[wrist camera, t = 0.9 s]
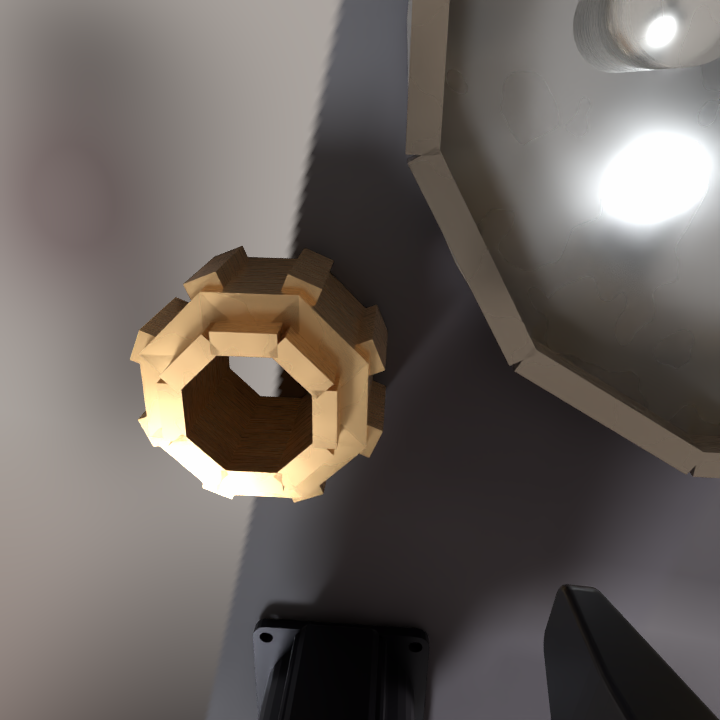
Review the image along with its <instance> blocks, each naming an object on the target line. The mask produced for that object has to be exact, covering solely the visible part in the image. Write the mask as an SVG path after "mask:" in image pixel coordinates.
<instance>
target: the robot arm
mask: <svg viewBox="0 0 720 720" xmlns="http://www.w3.org/2000/svg"><path fill="white" fill-rule="evenodd" d="M264 632H267V633H270V634H266V633H264ZM412 642H418V643H417V644H414V643H412ZM253 646H254V661H255V676H256V692H257V707H258V720H423V718H424V705H425V693H426V681H427V669H428V656H429V638H428V635H427V633H426V632H425V631H423V630H421V629H416V628H402V627H386V626H371V625H355V624H339V623H324V622H308V621H292V620H276V619H263V620H260V621H259V622H258V623H257V624H256V626H255V630H254V634H253ZM544 658H545V667H546V676H547V685H548V694H549V703H550V713H551V720H719V719H718V718H717V717H716V716H715V715H714V714H713V712H712V711H711V710H710V709H709V708H708V707H707V706H706V705H705V704H704V703H703V702H702V701H701V700H700V698H699V697H698V696H697V695H696V694H695V693H694V692H693V691H692V690H691V689H690V688H689V687H688V686H687V684H686V683H685V682H684V681H683V680H682V679H681V678H680V677H679V676H678V675H677V674H676V673H675V672H674V671H673V669H672V668H671V667H670V666H669V665H668V664H667V663H666V662H665V661H664V660H663V659H662V658H661V657H660V655H659V654H658V653H657V652H656V651H655V650H654V649H653V648H652V647H651V646H650V645H649V644H648V643H647V641H646V640H645V639H644V638H643V637H642V636H641V635H640V634H639V633H638V632H637V631H636V630H635V629H634V627H633V626H632V625H631V624H630V623H629V622H628V621H627V620H626V619H625V618H624V617H623V616H622V615H621V613H620V612H619V611H618V610H617V609H616V608H615V607H614V606H613V605H612V604H611V603H610V602H609V601H608V599H607V598H606V597H605V596H604V595H603V594H602V593H601V592H600V591H598V590H597V589H595V588H593V587H587V586H578V585H569V584H566V585H562V586H561V587H560V588H559V590H558V592H557V594H556V597H555V601H554V604H553V607H552V610H551V613H550V617H549V620H548V623H547V626H546V630H545V634H544Z"/></svg>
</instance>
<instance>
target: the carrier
mask: <svg viewBox="0 0 720 720" xmlns="http://www.w3.org/2000/svg"><path fill="white" fill-rule="evenodd" d="M407 56H408V107H407V130H406V155H414V156H412V157H410V158H408V159H407V163H408V165H409V167H410V169H411V171H412V173H413V175H414V177H415V179H416V181H417V183H418V185H419V187H420V189H421V191H422V193H423V195H424V197H425V199H426V201H427V203H428V205H429V207H430V209H431V211H432V213H433V215H434V217H435V219H436V221H437V223H438V225H439V227H440V229H441V231H442V233H443V235H444V238H445V240H446V242H447V245H448V247H449V249H450V252H451V254H452V257H453V259H454V261H455V263H456V265H457V267H458V268H459V270H460V272H461V273H462V275H463V277H464V278H465V280H466V282H467V284H468V285H469V287H470V289H471V290H472V292H473V294H474V296H475V298H476V300H477V302H478V304H479V306H480V308H481V310H482V312H483V314H484V316H485V318H486V320H487V322H488V324H489V326H490V328H491V330H492V332H493V334H494V336H495V338H496V340H497V342H498V344H499V346H500V348H501V350H502V352H503V354H504V356H505V358H506V360H507V362H508V364H509V366H511V365H512V366H513V369H514V371H515V372H517V373H518V374H520V375H522V376H523V377H525V378H527V379H528V380H530V381H532V382H533V383H535V384H536V385H538V386H540V387H541V388H543V389H545V390H546V391H548V392H550V393H551V394H553V395H555V396H556V397H558V398H560V399H561V400H563V401H565V402H566V403H568V404H570V405H571V406H573V407H575V408H576V409H578V410H580V411H581V412H583V413H585V414H586V415H588V416H590V417H591V418H593V419H595V420H596V421H598V422H600V423H601V424H603V425H605V426H606V427H608V428H610V429H611V430H613V431H615V432H616V433H618V434H620V435H621V436H623V437H624V438H626V439H628V440H629V441H631V442H633V443H634V444H636V445H638V446H639V447H641V448H643V449H644V450H646V451H648V452H649V453H651V454H653V455H654V456H656V457H658V458H659V459H661V460H663V461H664V462H666V463H668V464H669V465H671V466H673V467H674V468H676V469H678V470H679V471H681V472H683V473H684V474H686V475H687V474H688V473H689V472H690V473H691V475H692V476H693V477H709V478H720V0H409V3H408V13H407Z"/></svg>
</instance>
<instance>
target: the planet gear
mask: <svg viewBox="0 0 720 720" xmlns="http://www.w3.org/2000/svg"><path fill="white" fill-rule="evenodd" d="M333 262H334V261H333V260H331V259H329V258H327V257H324V256H322V255H320V254H318V253H315V252H313V251H311V250H309V249H306V248H304V249H303V251H302V253H301V254H300V256H299V257H298V259H288V258H258V257H247V255H246V252H245V250H244V248H243V246H241V247H238V248H236V249H233V250H230V251H228V252H225V253H223V254H220V255H218V256H215V257H214V258H213V259H211V260H210V261H209V262H208V263H207V264H206V265H204V267H202V268H201V269H200V270H199V271H198V272H196V273H195V274H194V275H193V276H192V277H191V278H190V279H189V280H187V281H186V282H185V283H184V287H185V289H186V291H187V293H188V295H189V297H190V299H191V301H190V302H189V303H188V302H186V301H183V300H181V299H179V298H176V297H175V298H174V299H173V300H172V301H171V302H170V303H169V304H167V305H166V306H165V307H164V308H163V309H162V310H161V311H160V312H159V313H158V314H156V315H155V316H154V317H153V318H152V319H151V320H150V321H149V322H148V323H147V324H145V325H144V326H143V327H142V328H141V329H140V330H139V333H138V335H137V338H136V342H135V345H134V348H133V351H132V355H131V358H130V360H132V361H134V362H137V363H139V364H140V367H141V374H142V382H143V390H144V397H145V405H146V411H145V412H144V413H143V414H142V416H141V417H140V418H139V419H138V420H139V422H140V424H141V426H142V427H143V429H144V431H145V432H146V434H147V436H148V438H149V439H150V441H151V443H152V444H153V446H154V447H155V446H161V447H162V448H163V449H164V450H165V451H167V452H168V453H169V454H170V455H171V456H173V457H174V458H175V459H176V460H177V461H179V462H180V463H181V464H182V465H183V466H184V467H186V468H187V469H188V470H189V471H190V472H192V473H193V474H194V475H195V476H196V477H198V478H199V479H200V480H201V481H202V482H203V483H204V485H203V488H205V489H207V490H210V491H212V492H215V493H217V494H220V495H223V496H225V497H228V498H230V499H232V498H233V496H234V495H249V496H268V497H287V498H292V499H293V501H294V503H295V502H298V501H301V500H305V499H308V498H312V497H315V496H318V495H322V494H323V493H324V488H325V483H326V480H327V479H328V478H329V477H331V476H332V475H333V474H334V473H336V472H337V471H338V470H339V469H340V468H342V467H343V466H344V465H345V464H347V463H348V462H349V461H350V460H352V459H353V458H354V457H355V456H357V455H358V454H361V455H364V456H366V457H370V455H371V453H372V451H373V449H374V448H375V446H376V444H377V442H378V440H379V438H380V436H381V434H382V432H383V422H384V406H385V390H386V386H384V385H382V384H380V383H377V382H375V381H373V374H376V373H379V372H382V371H385V365H386V350H387V336H388V331H387V329H386V326H385V324H384V321H383V319H382V316H381V314H380V311H379V309H378V306H377V305H374V306H371V307H369V308H365V307H364V306H363V305H362V304H361V303H360V302H359V301H358V300H357V299H356V298H355V297H354V296H353V295H352V294H351V293H350V292H349V291H348V290H347V289H346V288H345V287H344V286H343V285H342V284H341V283H340V282H339V281H338V280H337V279H336V278H335V277H334V276H333V275H332V274H331V273H330V272H329V271H330V269H331V267H332V264H333ZM229 356H243V357H265V358H273V359H274V360H275V361H276V362H277V363H278V364H279V365H280V366H281V367H282V368H284V369H285V370H286V371H287V372H288V373H289V374H290V375H291V376H292V377H293V378H294V379H295V380H296V381H297V382H298V383H300V384H301V385H302V386H303V387H304V388H305V389H306V390H307V391H308V393H307V394H306V395H305V396H304V397H303V398H288V397H266V396H259V395H258V394H257V393H256V392H255V391H254V390H253V389H252V388H251V387H250V386H248V384H247V383H245V382H244V381H243V380H242V379H241V378H240V377H239V376H238V375H237V374H235V373H234V372H233V371H232V370H231V369H230V367H229Z"/></svg>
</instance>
